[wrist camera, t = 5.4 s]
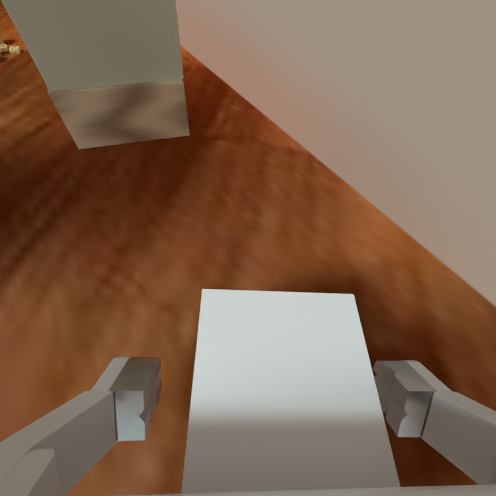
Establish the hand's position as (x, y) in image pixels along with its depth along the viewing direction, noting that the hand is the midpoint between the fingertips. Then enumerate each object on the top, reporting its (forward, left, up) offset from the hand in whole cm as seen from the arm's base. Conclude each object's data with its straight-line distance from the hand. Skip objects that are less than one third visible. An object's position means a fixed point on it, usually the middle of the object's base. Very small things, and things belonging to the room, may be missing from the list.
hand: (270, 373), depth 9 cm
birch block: (-4, +27, -5) cm, 28 cm away
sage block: (-4, +28, 0) cm, 28 cm away
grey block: (0, 0, -5) cm, 5 cm away
